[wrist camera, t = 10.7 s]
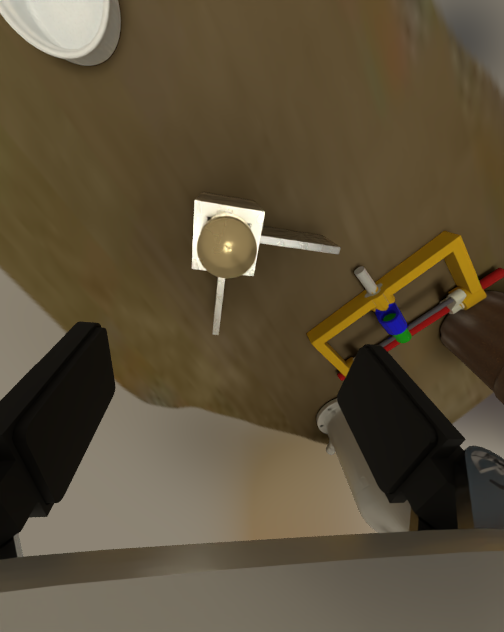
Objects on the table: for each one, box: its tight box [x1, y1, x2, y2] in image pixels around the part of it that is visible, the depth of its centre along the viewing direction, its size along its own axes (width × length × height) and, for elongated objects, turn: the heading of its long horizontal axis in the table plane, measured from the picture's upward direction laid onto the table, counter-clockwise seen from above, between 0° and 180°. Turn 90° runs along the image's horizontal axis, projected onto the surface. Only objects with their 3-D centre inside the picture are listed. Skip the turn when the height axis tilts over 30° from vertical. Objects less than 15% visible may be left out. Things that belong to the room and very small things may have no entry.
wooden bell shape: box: [197, 213, 257, 279], centre depth 26 cm, size 5×5×11 cm
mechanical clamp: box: [306, 231, 504, 381], centre depth 38 cm, size 18×6×30 cm
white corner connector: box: [192, 192, 341, 335], centre depth 31 cm, size 16×16×9 cm
